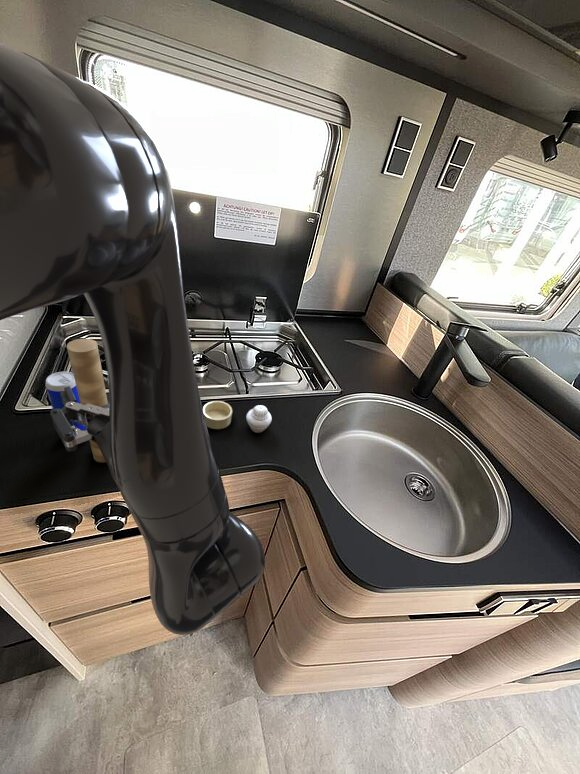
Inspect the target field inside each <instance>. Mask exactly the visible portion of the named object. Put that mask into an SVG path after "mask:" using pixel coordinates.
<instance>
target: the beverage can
mask: <svg viewBox="0 0 580 774" xmlns="http://www.w3.org/2000/svg"><path fill="white" fill-rule="evenodd" d="M68 386H70V388H71V390H72V392H73V394H74V396H75V398H76V400H77V403H80V400H79V396H78V391H77V387H76V383H75V379H74V375H73V372H71V371H58V372H54V373H51V374H50V375H48V376H47V377H46V379H45V386H44V387H45V389H46V392H47V395H48V399H49V402H50V405H51V408H52V409H55V408H59V409H62V408H63V407H64V404H63V402H62V399H61V395H60V393H61V392H62V391H65V390H64V387H68ZM68 423H69V425H70V426H75V427H76V428H79V429H80V430H82V431H85V430H87V428H85V427H84V426H83V425H82V424H80V423H77V422H74V421H71V420H70V421H68Z"/></svg>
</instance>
